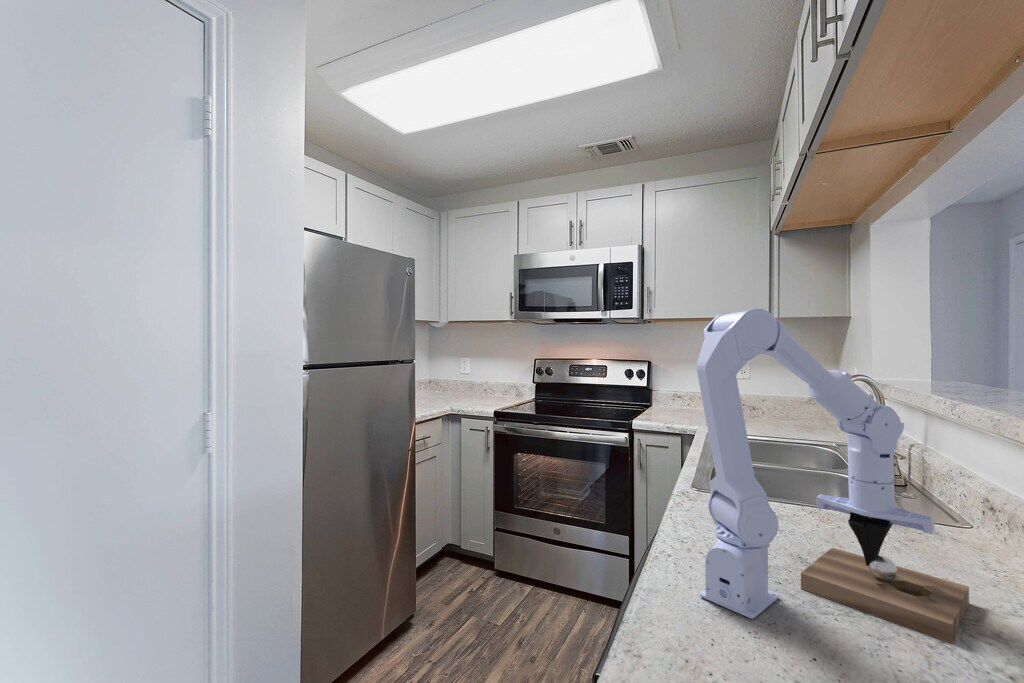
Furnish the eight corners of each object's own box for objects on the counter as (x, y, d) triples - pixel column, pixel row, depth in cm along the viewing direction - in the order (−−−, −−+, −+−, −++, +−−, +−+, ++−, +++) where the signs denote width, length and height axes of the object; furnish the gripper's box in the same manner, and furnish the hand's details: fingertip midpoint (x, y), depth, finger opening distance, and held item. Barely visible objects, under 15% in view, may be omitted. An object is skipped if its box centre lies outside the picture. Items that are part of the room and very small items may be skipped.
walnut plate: (952, 643, 59) (952, 624, 59) (800, 588, 73) (800, 573, 73) (969, 603, 69) (968, 586, 69) (832, 561, 82) (832, 547, 82)
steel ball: (862, 561, 71) (873, 585, 70) (889, 560, 69) (900, 584, 68) (865, 553, 74) (876, 575, 73) (891, 551, 71) (902, 574, 70)
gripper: (937, 483, 69) (939, 573, 69) (825, 465, 80) (827, 542, 80) (928, 493, 65) (931, 590, 64) (811, 473, 76) (813, 555, 76)
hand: (872, 564), depth 72 cm, fingers closed, pressing on steel ball
